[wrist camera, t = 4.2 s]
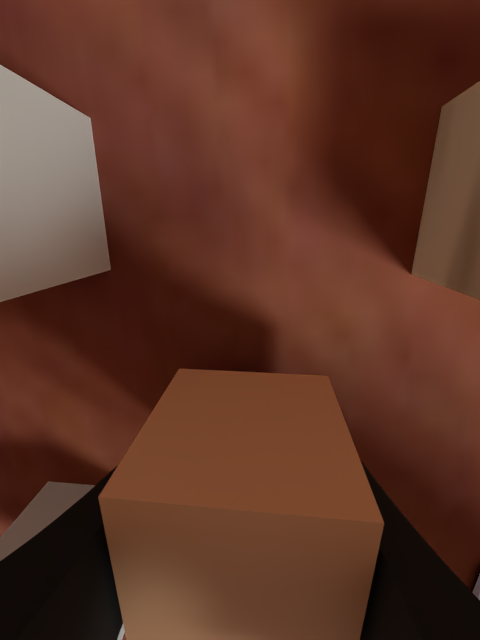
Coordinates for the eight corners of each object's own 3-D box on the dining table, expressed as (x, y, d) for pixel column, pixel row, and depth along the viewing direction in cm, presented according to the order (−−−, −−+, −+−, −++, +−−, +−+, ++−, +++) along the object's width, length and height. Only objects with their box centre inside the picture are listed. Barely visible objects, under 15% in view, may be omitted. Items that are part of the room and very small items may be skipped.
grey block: (142, 487, 15) (82, 612, 10) (151, 556, 16) (103, 692, 12) (49, 480, 15) (-50, 595, 10) (67, 547, 17) (-13, 674, 12)
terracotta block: (327, 375, 10) (383, 522, 5) (315, 492, 11) (349, 690, 6) (178, 368, 10) (98, 497, 5) (187, 481, 12) (130, 658, 7)
